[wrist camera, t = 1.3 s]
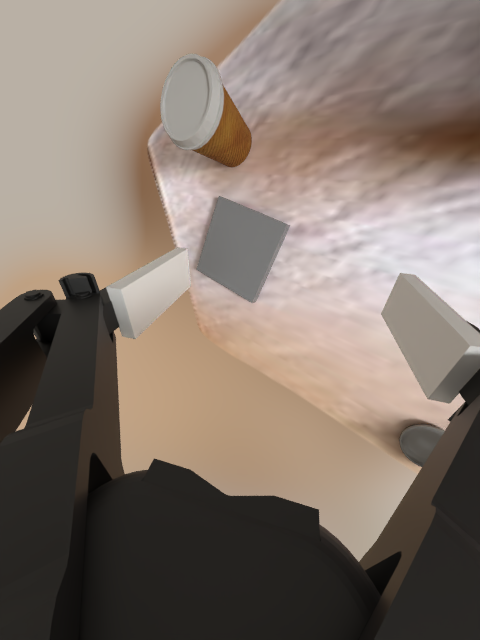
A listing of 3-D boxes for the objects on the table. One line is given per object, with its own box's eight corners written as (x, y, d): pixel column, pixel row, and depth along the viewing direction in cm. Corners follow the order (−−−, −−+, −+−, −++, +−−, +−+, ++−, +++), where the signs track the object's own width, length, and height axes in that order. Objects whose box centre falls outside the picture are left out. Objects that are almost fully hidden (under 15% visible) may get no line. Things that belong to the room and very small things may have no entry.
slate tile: (223, 198, 40) (218, 195, 39) (290, 225, 35) (286, 224, 34) (201, 269, 46) (196, 269, 45) (255, 301, 41) (251, 302, 40)
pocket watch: (394, 421, 33) (402, 473, 25) (471, 423, 29) (513, 488, 20) (407, 471, 33) (419, 539, 25) (485, 481, 29) (532, 568, 21)
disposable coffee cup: (244, 95, 35) (192, 24, 25) (270, 147, 34) (228, 96, 24) (204, 144, 40) (148, 102, 30) (226, 190, 40) (177, 162, 29)
